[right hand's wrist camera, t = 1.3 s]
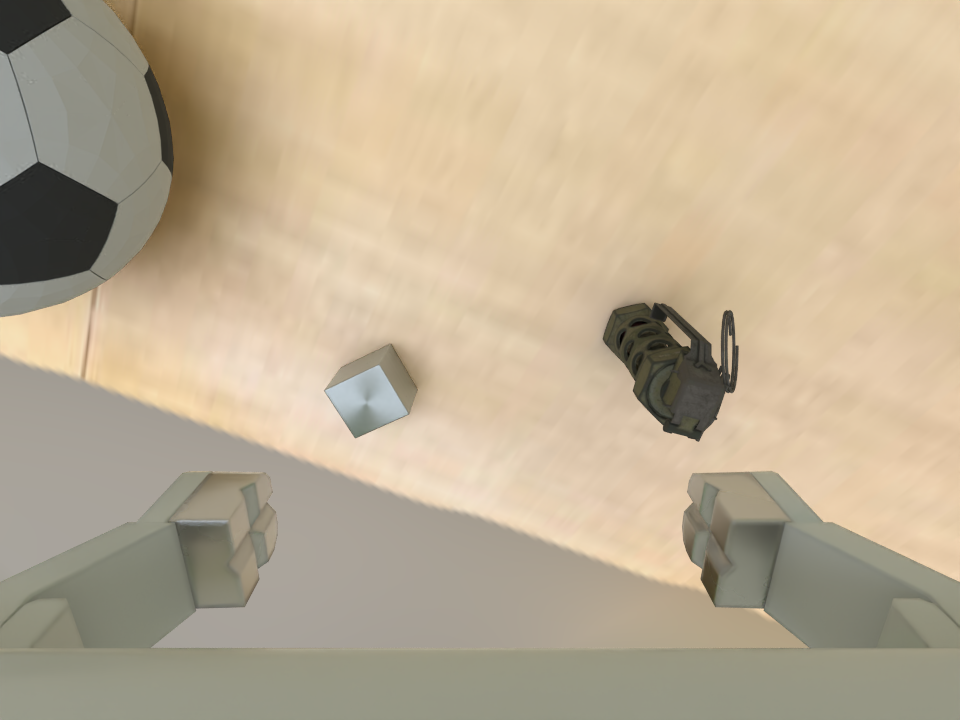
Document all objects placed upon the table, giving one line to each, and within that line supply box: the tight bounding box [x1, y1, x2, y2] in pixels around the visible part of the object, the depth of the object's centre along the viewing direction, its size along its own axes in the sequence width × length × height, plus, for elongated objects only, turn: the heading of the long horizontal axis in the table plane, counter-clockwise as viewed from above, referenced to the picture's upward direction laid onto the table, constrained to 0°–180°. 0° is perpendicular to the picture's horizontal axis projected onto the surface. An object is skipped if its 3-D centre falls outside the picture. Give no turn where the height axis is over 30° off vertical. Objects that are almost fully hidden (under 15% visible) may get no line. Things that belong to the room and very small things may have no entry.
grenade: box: [603, 303, 738, 442], centre depth 37 cm, size 9×6×15 cm, turn 165°
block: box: [324, 344, 417, 438], centre depth 45 cm, size 5×5×5 cm
